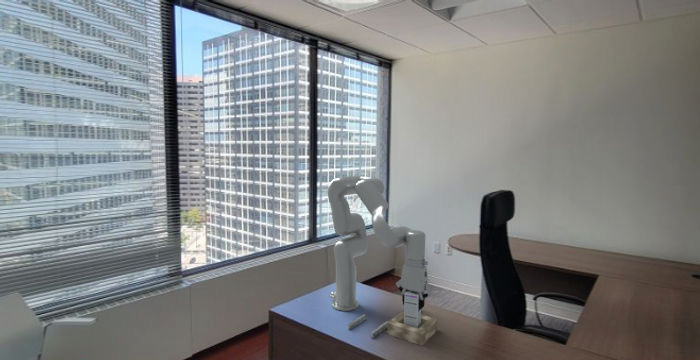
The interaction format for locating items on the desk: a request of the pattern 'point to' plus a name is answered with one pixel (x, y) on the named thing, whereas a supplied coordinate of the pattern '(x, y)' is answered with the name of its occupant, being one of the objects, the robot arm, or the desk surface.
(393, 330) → the beige square tray
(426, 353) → the desk surface
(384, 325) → the stand rails
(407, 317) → the syrup box
